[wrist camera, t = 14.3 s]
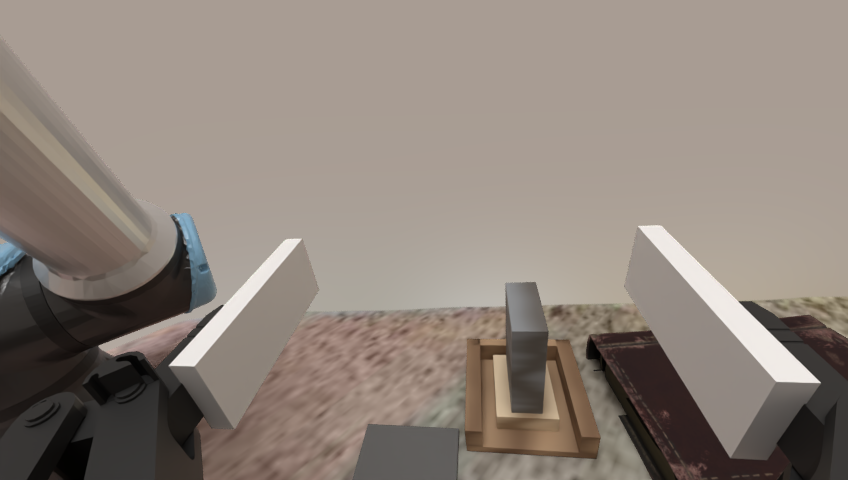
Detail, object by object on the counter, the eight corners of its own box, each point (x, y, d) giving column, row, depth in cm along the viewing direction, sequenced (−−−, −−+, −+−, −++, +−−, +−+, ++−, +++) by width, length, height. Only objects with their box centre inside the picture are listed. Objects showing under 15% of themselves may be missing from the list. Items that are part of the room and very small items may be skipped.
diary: (583, 357, 44) (587, 327, 42) (788, 339, 43) (804, 307, 40) (680, 537, 27) (696, 504, 25) (1020, 516, 26) (1070, 479, 24)
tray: (466, 450, 35) (464, 430, 33) (468, 357, 45) (467, 339, 43) (596, 458, 33) (600, 437, 31) (566, 359, 43) (569, 339, 41)
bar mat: (338, 537, 30) (336, 535, 29) (368, 426, 38) (368, 424, 38) (454, 550, 28) (453, 547, 28) (458, 430, 37) (458, 428, 36)
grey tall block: (497, 428, 35) (494, 335, 29) (493, 366, 42) (490, 280, 36) (558, 431, 34) (568, 335, 28) (544, 367, 41) (550, 279, 35)
